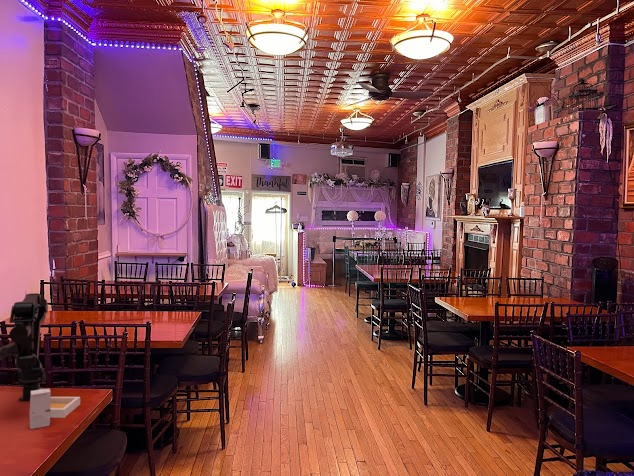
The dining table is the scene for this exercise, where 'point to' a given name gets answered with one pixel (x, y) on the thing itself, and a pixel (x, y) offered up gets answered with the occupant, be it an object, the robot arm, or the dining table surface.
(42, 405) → the skincare box
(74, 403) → the shallow white square tray
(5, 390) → the dining table surface
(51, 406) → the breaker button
